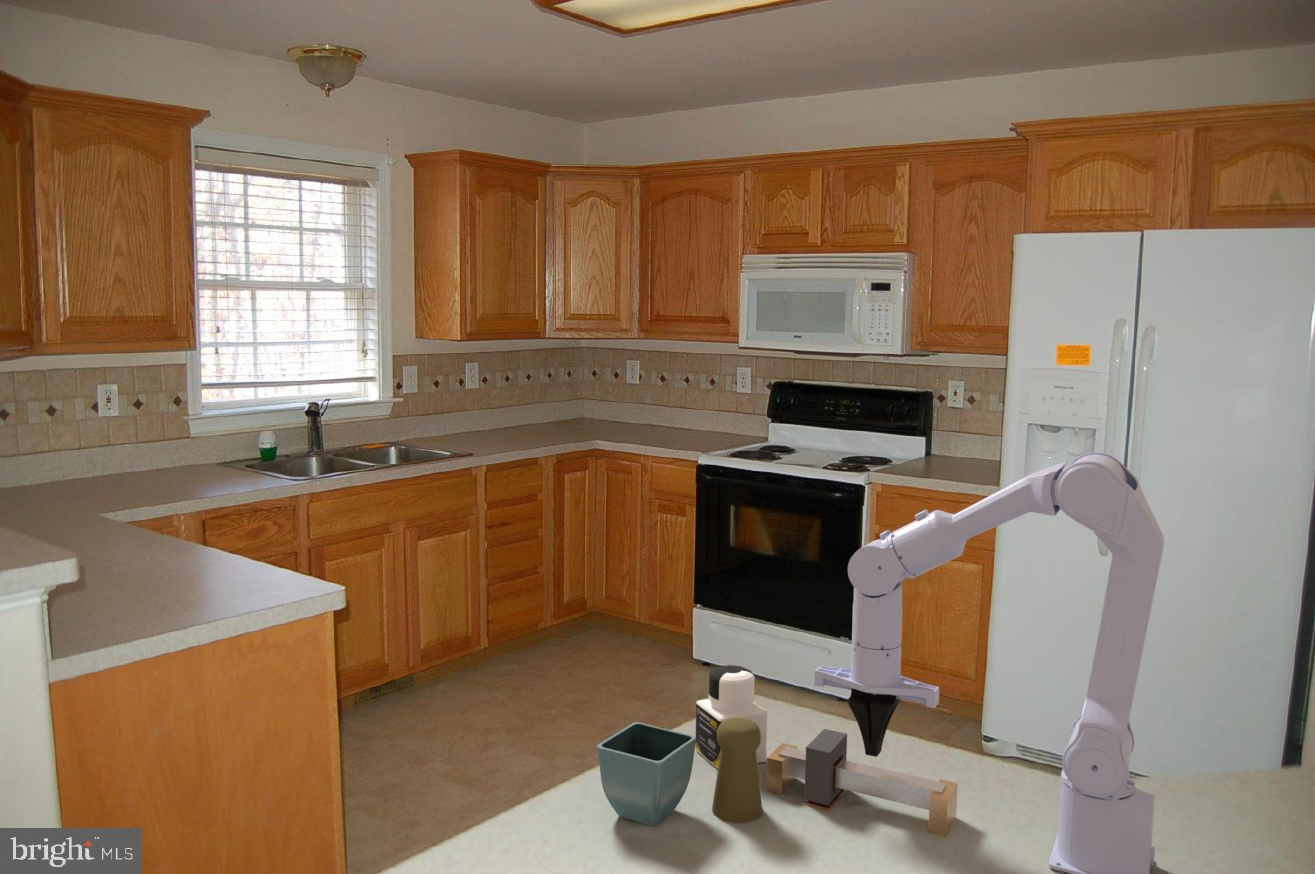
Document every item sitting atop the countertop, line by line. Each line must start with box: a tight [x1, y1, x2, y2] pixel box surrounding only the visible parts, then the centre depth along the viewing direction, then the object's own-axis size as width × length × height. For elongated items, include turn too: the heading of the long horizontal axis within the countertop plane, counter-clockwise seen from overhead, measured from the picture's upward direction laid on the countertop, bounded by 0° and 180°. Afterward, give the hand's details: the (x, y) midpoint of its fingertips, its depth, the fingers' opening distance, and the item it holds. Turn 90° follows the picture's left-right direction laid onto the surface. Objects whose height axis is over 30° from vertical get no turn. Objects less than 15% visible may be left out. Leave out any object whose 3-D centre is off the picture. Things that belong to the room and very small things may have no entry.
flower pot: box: [596, 721, 696, 827], centre depth 115 cm, size 9×9×9 cm
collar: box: [804, 728, 848, 806], centre depth 120 cm, size 3×6×7 cm, turn 151°
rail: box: [766, 742, 958, 837], centre depth 118 cm, size 22×7×4 cm, turn 61°
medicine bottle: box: [695, 664, 768, 770], centre depth 130 cm, size 7×7×12 cm
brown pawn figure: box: [711, 717, 764, 824], centre depth 116 cm, size 6×6×11 cm
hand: (873, 752), depth 117 cm, fingers closed
